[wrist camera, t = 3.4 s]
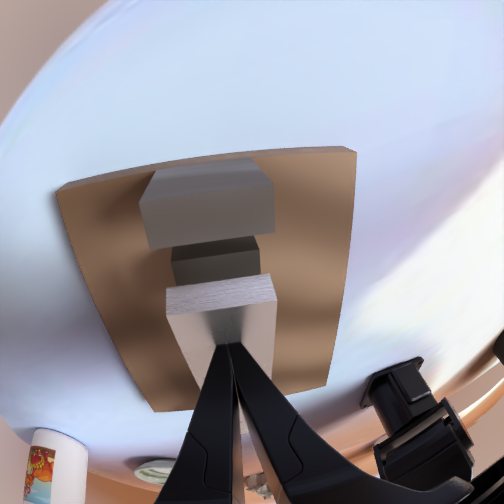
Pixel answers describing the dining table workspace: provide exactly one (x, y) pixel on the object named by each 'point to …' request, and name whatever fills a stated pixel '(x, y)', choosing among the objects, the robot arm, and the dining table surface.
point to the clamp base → (280, 256)
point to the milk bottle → (55, 469)
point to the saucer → (155, 471)
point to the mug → (499, 348)
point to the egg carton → (259, 485)
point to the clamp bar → (224, 321)
